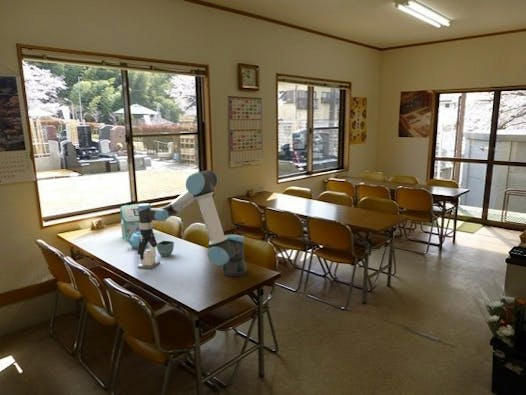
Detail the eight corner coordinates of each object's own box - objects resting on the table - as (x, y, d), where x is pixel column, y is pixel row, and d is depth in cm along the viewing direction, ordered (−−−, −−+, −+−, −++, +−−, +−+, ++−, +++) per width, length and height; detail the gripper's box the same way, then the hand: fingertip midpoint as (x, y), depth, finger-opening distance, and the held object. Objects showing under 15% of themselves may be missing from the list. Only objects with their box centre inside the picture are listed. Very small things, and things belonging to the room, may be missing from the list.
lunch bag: (124, 241, 297) (121, 207, 291) (120, 236, 310) (117, 203, 305) (154, 237, 308) (152, 204, 302) (149, 232, 322) (147, 200, 316)
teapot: (135, 243, 293) (133, 228, 291) (152, 243, 291) (151, 229, 289) (125, 250, 278) (124, 235, 276) (143, 250, 276) (142, 235, 274)
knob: (155, 262, 250) (154, 249, 248) (150, 265, 244) (149, 252, 242) (147, 261, 251) (146, 249, 249) (142, 264, 245) (141, 252, 244)
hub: (159, 263, 252) (159, 254, 250) (152, 269, 242) (151, 260, 241) (145, 262, 254) (145, 253, 253) (137, 267, 244) (137, 258, 243)
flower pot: (164, 252, 272) (163, 240, 270) (175, 253, 269) (174, 241, 268) (156, 256, 264) (155, 244, 262) (167, 258, 261) (167, 245, 259)
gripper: (150, 222, 256) (152, 253, 260) (129, 233, 232) (132, 266, 236) (160, 223, 254) (162, 253, 258) (141, 234, 230) (143, 267, 235)
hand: (148, 260), depth 247 cm, fingers open, 13 cm apart
